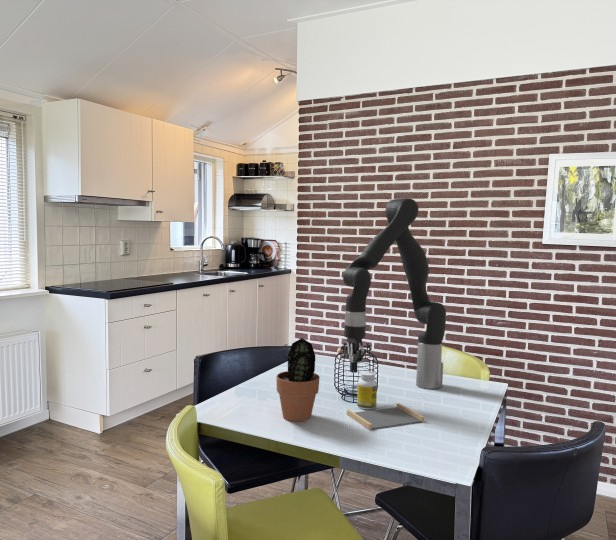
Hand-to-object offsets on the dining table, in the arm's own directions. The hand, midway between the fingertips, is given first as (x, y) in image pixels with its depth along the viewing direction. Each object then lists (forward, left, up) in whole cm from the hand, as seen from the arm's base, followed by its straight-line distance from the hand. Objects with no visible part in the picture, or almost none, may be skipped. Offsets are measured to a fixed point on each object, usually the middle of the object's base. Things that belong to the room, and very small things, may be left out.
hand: (353, 372), depth 182 cm
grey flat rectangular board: (0, +21, -10) cm, 23 cm away
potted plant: (+26, +11, -10) cm, 30 cm away
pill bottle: (0, +10, -10) cm, 14 cm away
